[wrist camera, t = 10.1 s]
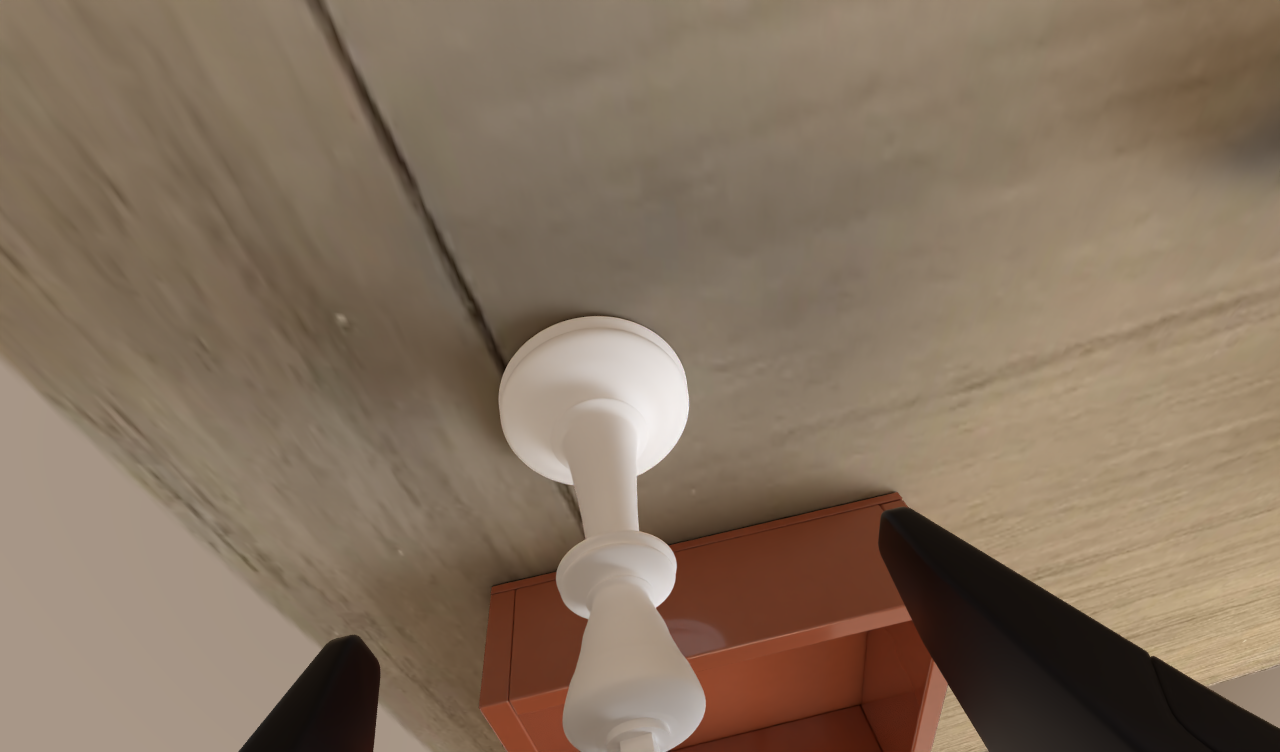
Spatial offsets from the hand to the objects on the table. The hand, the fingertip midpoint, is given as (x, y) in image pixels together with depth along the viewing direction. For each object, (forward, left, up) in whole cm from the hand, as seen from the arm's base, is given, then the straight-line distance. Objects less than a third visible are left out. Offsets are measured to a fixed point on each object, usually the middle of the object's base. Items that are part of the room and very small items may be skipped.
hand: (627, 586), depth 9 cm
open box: (+2, -13, -6) cm, 15 cm away
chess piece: (0, 0, -6) cm, 6 cm away
